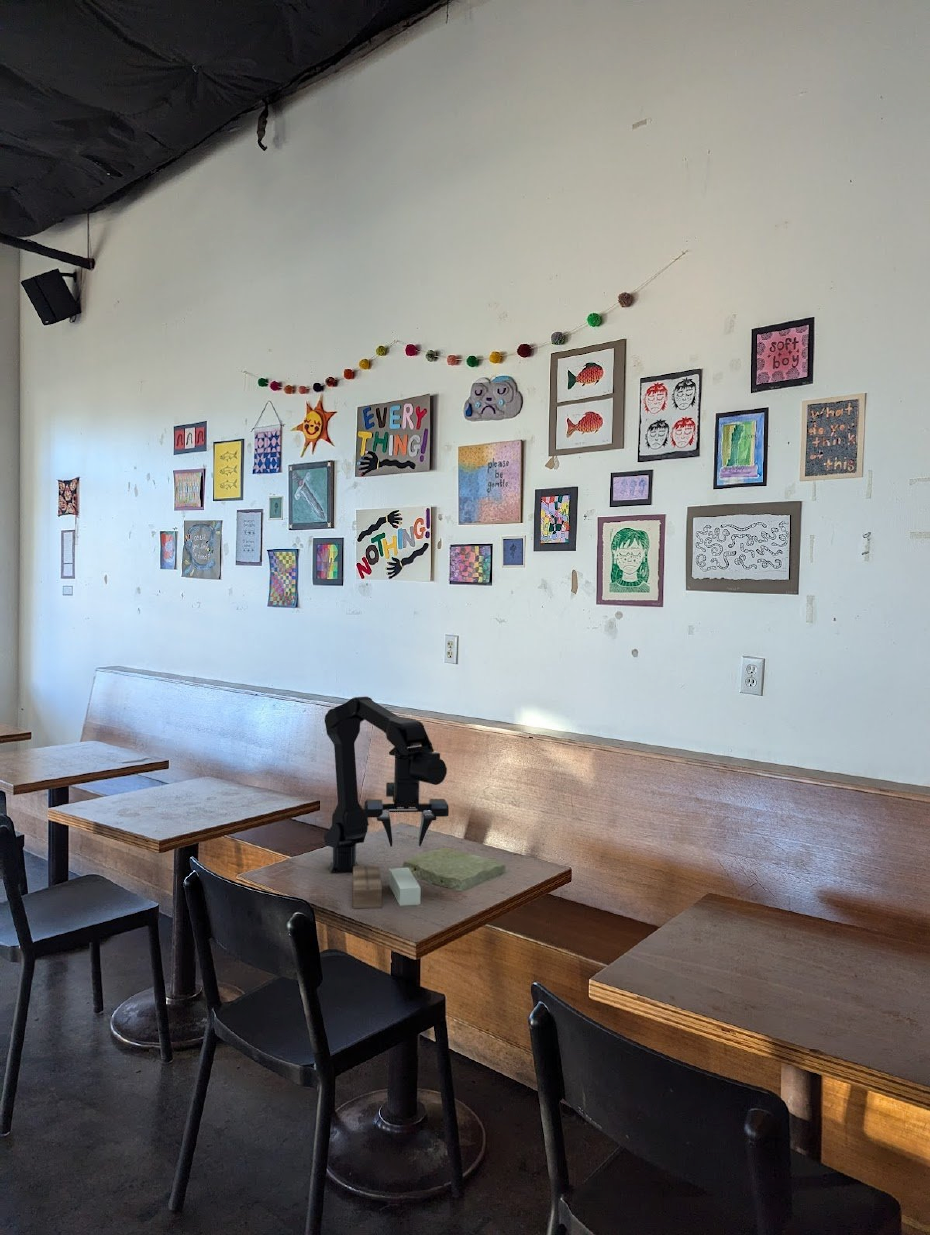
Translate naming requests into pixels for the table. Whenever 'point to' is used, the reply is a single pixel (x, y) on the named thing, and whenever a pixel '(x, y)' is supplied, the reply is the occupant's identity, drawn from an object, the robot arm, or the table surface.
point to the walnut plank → (366, 887)
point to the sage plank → (404, 886)
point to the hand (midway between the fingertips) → (405, 845)
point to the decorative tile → (453, 868)
